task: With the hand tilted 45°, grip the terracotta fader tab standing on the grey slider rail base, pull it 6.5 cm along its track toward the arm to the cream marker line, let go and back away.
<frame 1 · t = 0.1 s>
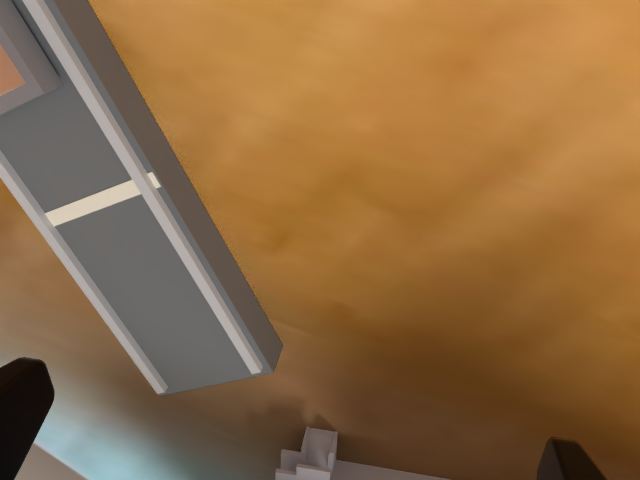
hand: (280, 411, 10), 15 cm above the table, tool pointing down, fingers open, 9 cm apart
grey slider rail base: (128, 202, 26), on the table
door handle: (470, 464, 31), on the table
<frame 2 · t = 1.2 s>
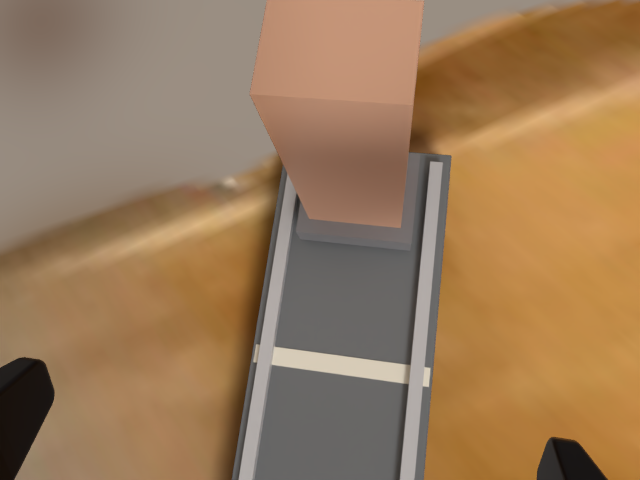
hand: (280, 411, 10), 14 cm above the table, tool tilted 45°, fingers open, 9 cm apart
fader: (351, 148, 17), point 8 cm above the table, slide at 0.0 cm
grey slider rail base: (341, 390, 23), on the table
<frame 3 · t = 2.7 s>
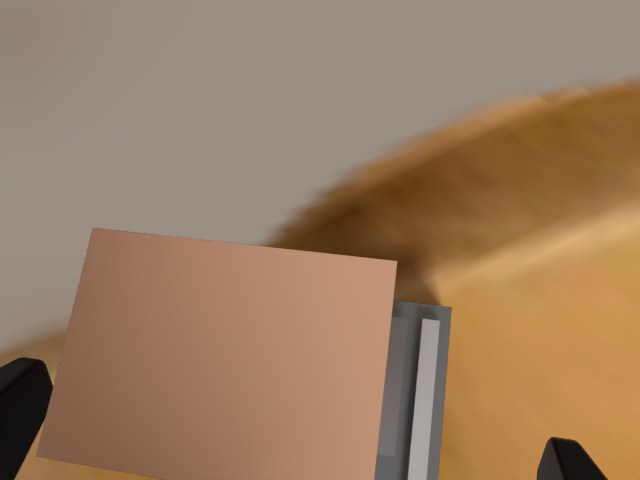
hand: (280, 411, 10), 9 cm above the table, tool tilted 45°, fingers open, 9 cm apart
fader: (297, 370, 11), point 8 cm above the table, slide at 0.0 cm
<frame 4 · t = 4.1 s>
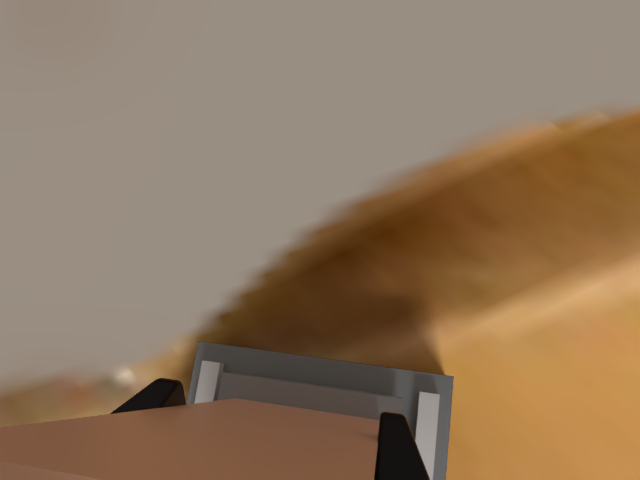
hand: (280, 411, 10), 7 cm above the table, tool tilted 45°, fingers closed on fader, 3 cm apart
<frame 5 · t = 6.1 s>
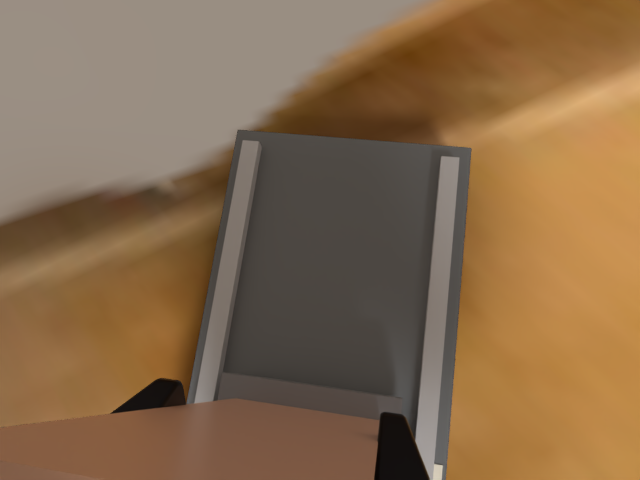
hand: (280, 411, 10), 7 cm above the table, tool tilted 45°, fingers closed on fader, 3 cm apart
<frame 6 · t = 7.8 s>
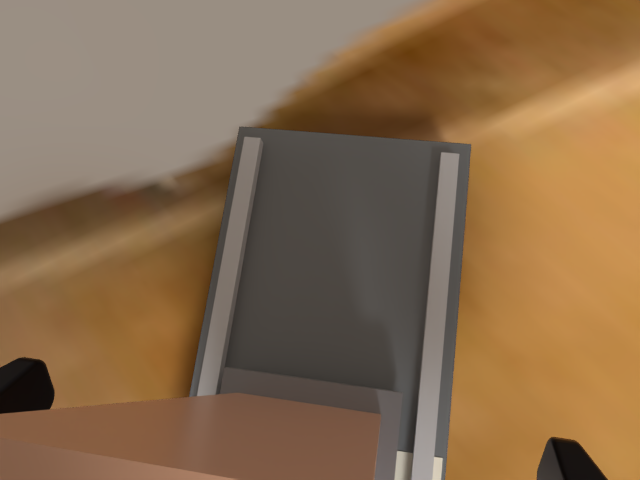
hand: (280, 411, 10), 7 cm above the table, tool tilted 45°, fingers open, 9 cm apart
grey slider rail base: (313, 478, 16), on the table
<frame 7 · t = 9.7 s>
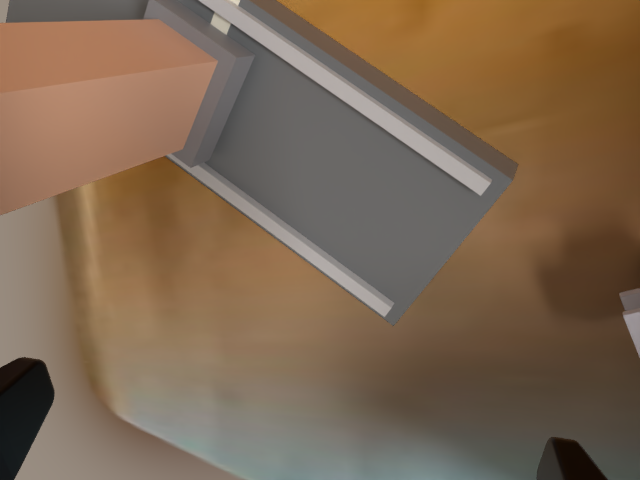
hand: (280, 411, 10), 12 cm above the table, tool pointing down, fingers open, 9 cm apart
fader: (77, 105, 15), point 8 cm above the table, slide at 6.5 cm
grey slider rail base: (247, 90, 21), on the table
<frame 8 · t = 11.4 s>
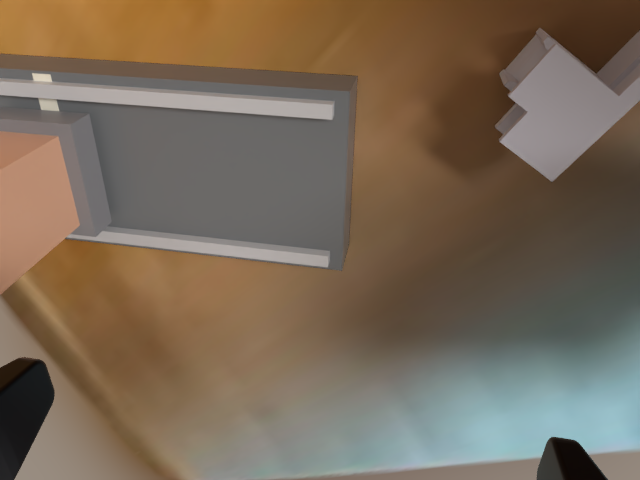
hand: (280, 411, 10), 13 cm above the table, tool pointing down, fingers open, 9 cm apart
grey slider rail base: (113, 146, 22), on the table
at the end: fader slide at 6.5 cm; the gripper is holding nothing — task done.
